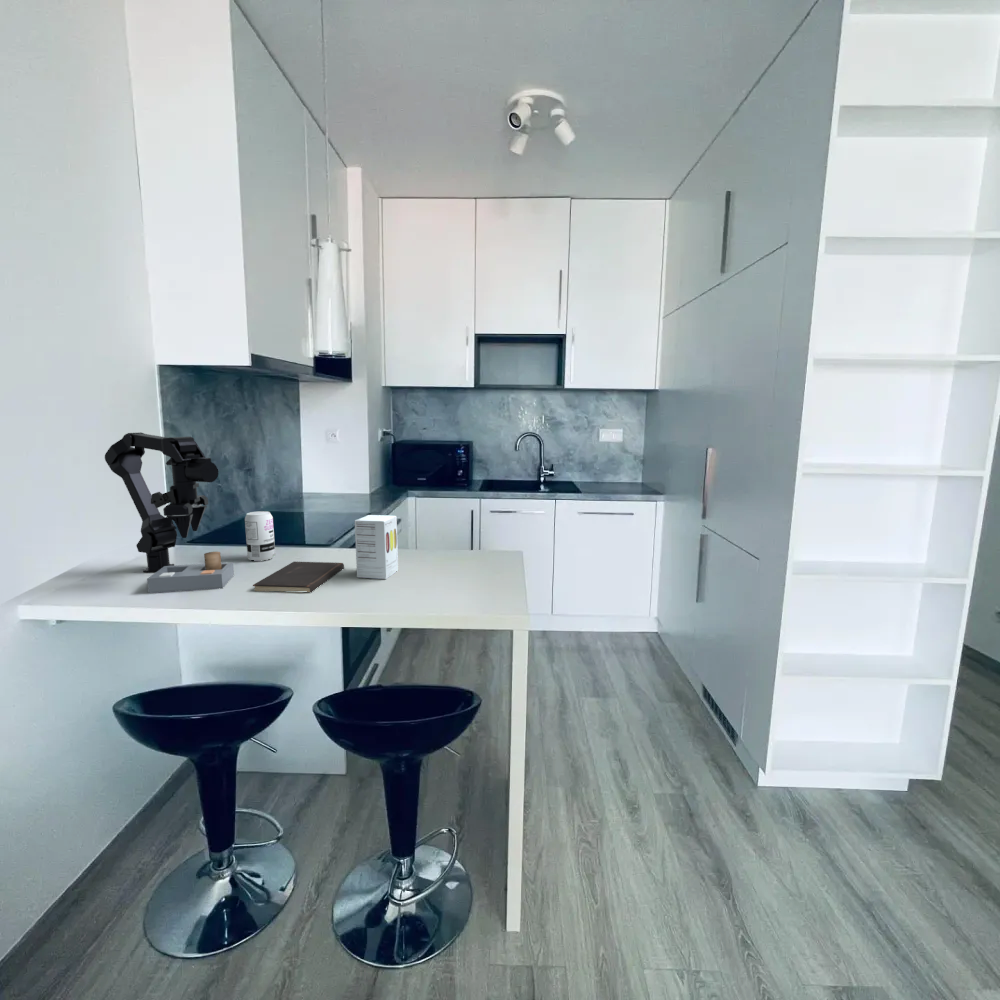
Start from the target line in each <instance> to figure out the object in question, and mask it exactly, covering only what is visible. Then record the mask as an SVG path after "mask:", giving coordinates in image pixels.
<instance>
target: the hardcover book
mask: <svg viewBox="0 0 1000 1000" xmlns="http://www.w3.org/2000/svg"><path fill="white" fill-rule="evenodd" d="M342 569H343V570H344V569H345V564H344V562H325V561H324V562H323V561H321V562H320V561H293V562H290V563H288V564H286V565H285V566H283V567H281V568H280V569H278V570H276V571H275V572H273V573H271V574H269V575H268V576H266V577H264V578H262V579H261V580H259V581H257V582H255V583H254V584H252V587H254V592H269V591H307V592H311V593H313V592H314V591H315V589H316V588H317V587H318V588H320V587H321V586H322V585H324V584H325V583H327V582H328V581H329V580H331V578H333V577H334V576H336V575H338V573H339V572H342V571H343V570H342ZM327 580H328V581H327ZM323 583H324V584H323ZM320 585H321V586H320ZM319 586H320V587H319ZM318 588H317V589H318ZM317 589H316V590H317ZM313 590H314V591H313ZM312 591H313V592H312Z"/></svg>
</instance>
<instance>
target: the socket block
mask: <svg viewBox="0 0 1000 1000" xmlns="http://www.w3.org/2000/svg"><path fill="white" fill-rule="evenodd" d="M221 567H222V569H221V570H206V569H205V563H196V564H195V563H193V564H192V563H191V564H179V565H176V564H174V566H164V567H163V568H161V569H160V570H158V571H157V572H153V574H151V575H149V576H148V577H147V578H146V580H147V589H148V594H156V593H158V594H159V593H170V592H171V593H173V592H188V591H190V592H191V591H201V590H217V589H219V588H220V589H224V588H225V587H226V585H227V584H229V582H230V581H231V580H232V579H231V578H234V576H235V569H234V568H235V567H234V562H233V561H231V562H221ZM233 575H234V576H233ZM230 579H231V580H230ZM229 580H230V581H229ZM228 581H229V582H228ZM223 587H224V588H223Z"/></svg>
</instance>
